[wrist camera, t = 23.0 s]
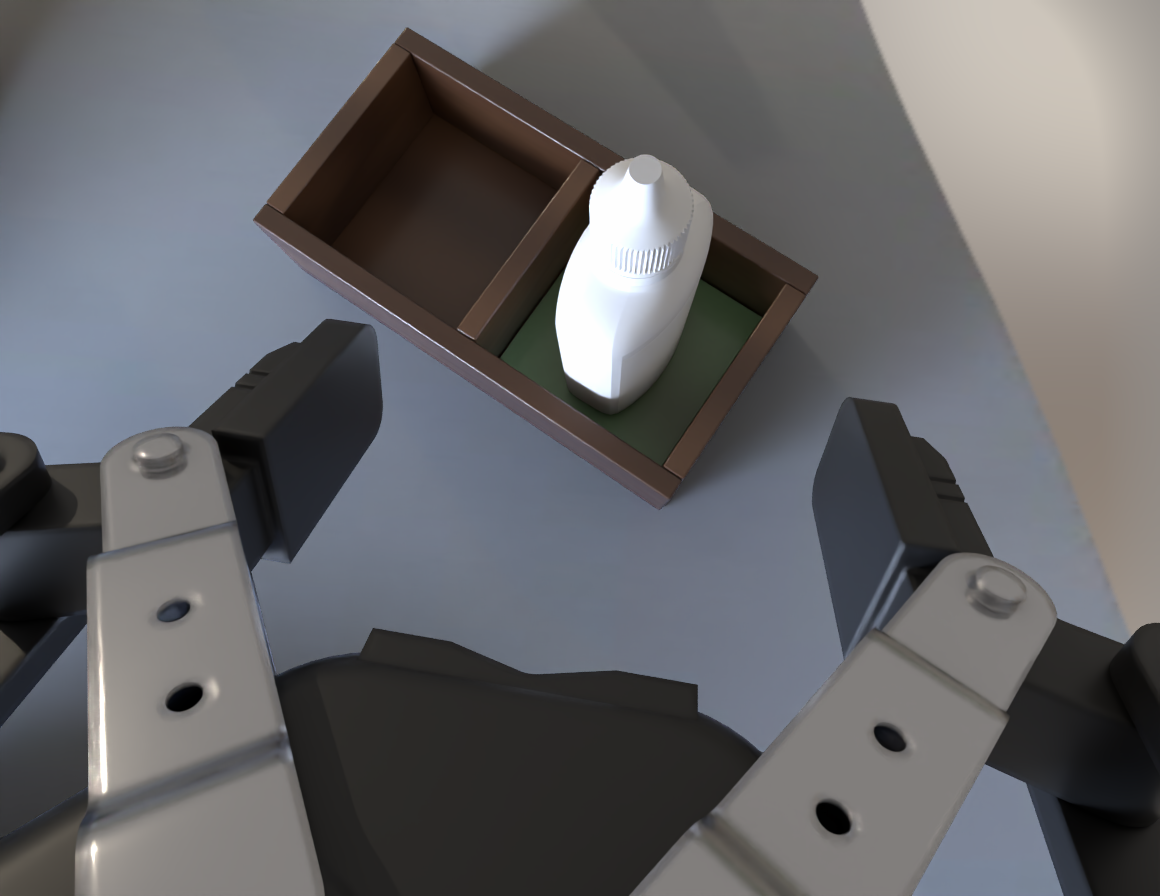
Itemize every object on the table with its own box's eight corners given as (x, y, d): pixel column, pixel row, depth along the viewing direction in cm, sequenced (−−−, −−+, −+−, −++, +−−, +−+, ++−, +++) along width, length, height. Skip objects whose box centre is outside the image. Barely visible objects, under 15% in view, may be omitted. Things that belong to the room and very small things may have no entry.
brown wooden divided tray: (659, 510, 26) (669, 500, 22) (301, 269, 28) (251, 220, 24) (788, 318, 27) (820, 275, 23) (433, 99, 29) (406, 25, 25)
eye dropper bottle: (720, 359, 26) (815, 191, 14) (590, 431, 26) (578, 318, 14) (662, 264, 27) (707, 29, 15) (534, 333, 27) (479, 148, 15)
